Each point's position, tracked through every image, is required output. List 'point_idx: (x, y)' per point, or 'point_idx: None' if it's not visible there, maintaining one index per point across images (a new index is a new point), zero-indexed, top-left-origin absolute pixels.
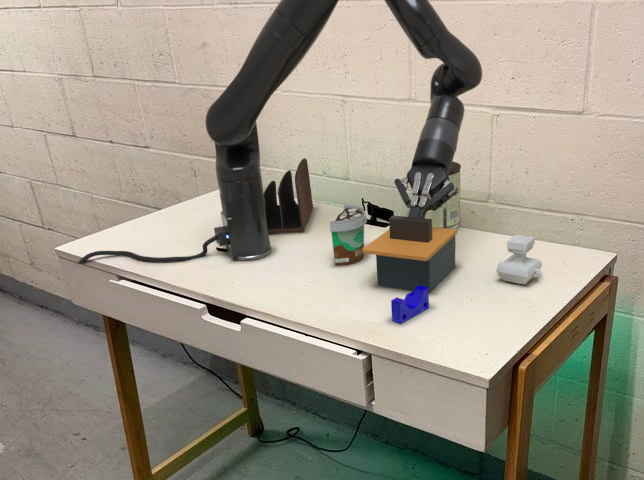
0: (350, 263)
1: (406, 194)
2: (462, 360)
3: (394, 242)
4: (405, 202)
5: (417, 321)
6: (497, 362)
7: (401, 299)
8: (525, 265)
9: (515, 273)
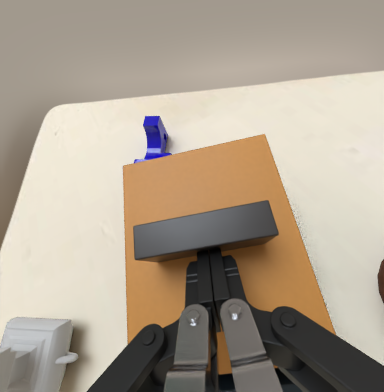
0: (381, 267)
1: (309, 355)
2: (72, 115)
3: (228, 199)
4: (279, 307)
5: (141, 149)
6: (44, 127)
7: (148, 124)
8: (8, 343)
9: (35, 319)
